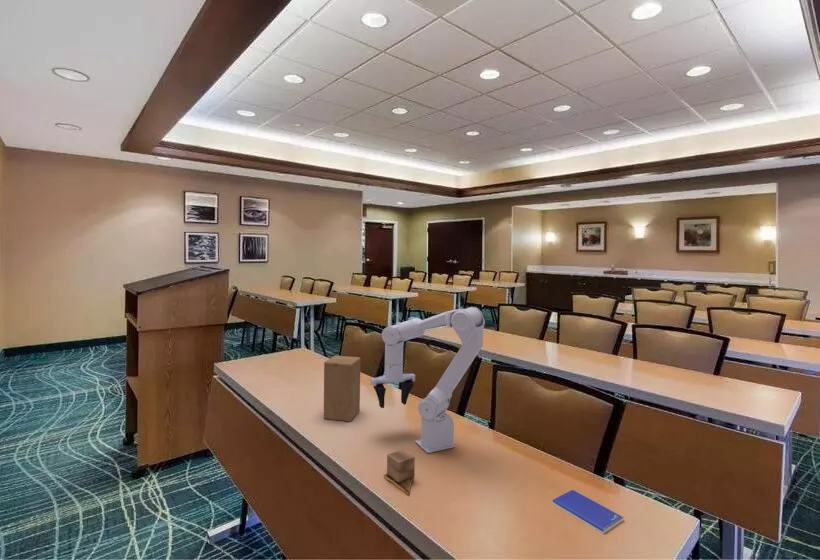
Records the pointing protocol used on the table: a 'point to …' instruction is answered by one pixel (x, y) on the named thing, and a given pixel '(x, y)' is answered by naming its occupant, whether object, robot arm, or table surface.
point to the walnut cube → (400, 465)
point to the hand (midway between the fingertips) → (392, 405)
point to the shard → (401, 483)
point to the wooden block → (341, 388)
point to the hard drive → (588, 511)
